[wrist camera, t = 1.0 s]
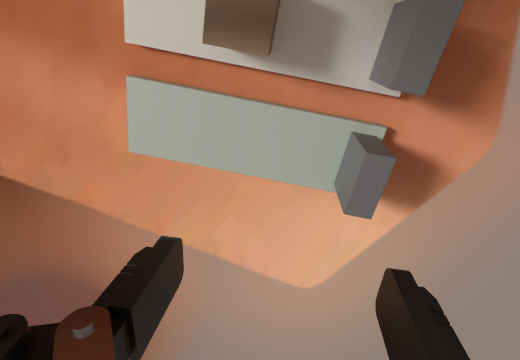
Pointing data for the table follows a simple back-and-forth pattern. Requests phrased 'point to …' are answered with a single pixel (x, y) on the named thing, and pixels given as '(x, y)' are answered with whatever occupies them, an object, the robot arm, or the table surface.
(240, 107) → the sage strip
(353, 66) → the cream strip
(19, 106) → the table surface
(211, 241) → the table surface
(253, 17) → the walnut block
